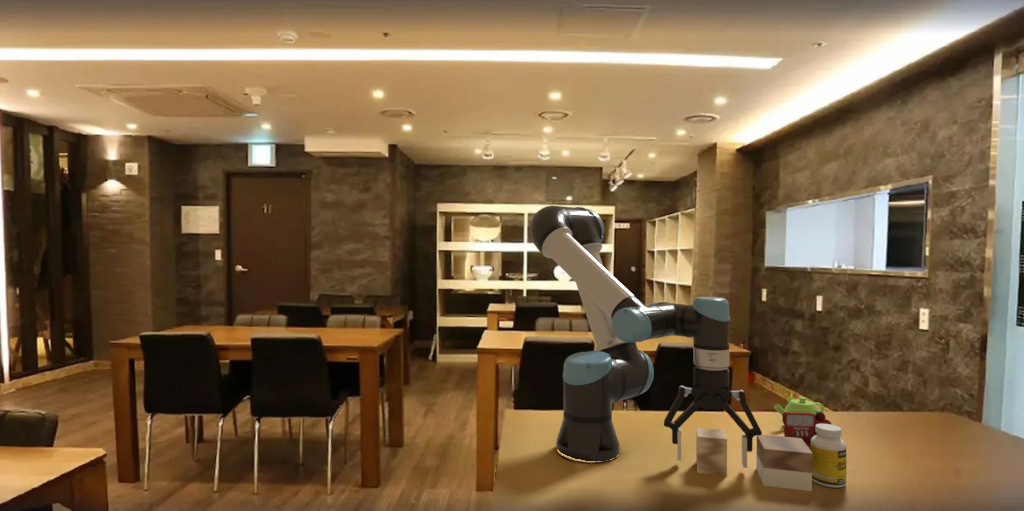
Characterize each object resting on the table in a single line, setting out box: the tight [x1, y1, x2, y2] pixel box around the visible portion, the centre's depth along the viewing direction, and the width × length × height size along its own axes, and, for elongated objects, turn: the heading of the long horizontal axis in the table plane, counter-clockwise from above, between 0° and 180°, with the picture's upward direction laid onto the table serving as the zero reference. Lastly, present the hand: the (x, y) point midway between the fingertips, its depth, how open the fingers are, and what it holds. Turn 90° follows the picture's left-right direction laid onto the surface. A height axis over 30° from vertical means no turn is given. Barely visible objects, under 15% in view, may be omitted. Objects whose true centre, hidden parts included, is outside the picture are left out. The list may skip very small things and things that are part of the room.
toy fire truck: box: [781, 412, 833, 450], centre depth 124 cm, size 7×12×10 cm, turn 87°
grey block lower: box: [755, 451, 813, 492], centre depth 111 cm, size 9×9×4 cm
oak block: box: [695, 427, 728, 477], centre depth 117 cm, size 6×6×8 cm
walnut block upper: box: [756, 434, 813, 473], centre depth 111 cm, size 9×9×4 cm
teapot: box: [773, 396, 827, 419], centre depth 143 cm, size 11×12×8 cm
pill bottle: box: [811, 423, 847, 489], centre depth 110 cm, size 6×6×12 cm
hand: (711, 461), depth 117 cm, fingers open, 13 cm apart
